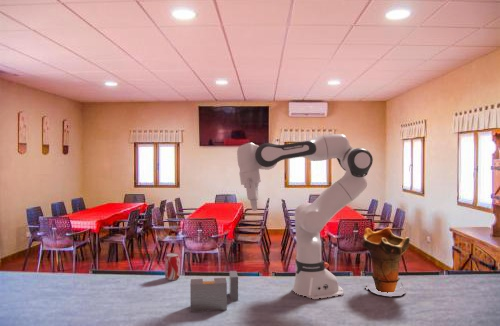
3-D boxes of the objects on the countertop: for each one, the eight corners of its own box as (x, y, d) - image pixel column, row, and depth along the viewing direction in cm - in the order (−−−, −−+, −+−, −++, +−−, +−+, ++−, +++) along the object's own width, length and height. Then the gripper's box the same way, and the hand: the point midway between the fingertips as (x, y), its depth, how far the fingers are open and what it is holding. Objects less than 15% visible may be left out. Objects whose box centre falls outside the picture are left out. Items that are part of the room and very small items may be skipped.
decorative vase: (382, 303, 152) (381, 235, 152) (352, 286, 174) (351, 226, 174) (424, 297, 158) (423, 232, 158) (389, 281, 180) (388, 224, 180)
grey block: (236, 293, 163) (236, 270, 162) (238, 300, 155) (238, 277, 155) (229, 293, 162) (229, 271, 162) (230, 300, 155) (231, 277, 154)
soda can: (176, 281, 177) (176, 257, 176) (162, 280, 178) (162, 256, 178) (182, 276, 184) (181, 253, 183) (168, 275, 185) (168, 252, 185)
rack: (225, 303, 151) (225, 276, 151) (226, 310, 145) (226, 281, 145) (190, 305, 149) (190, 277, 149) (190, 312, 143) (190, 283, 143)
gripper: (256, 175, 152) (261, 209, 150) (258, 180, 172) (262, 209, 170) (241, 178, 152) (246, 211, 150) (245, 182, 172) (249, 211, 170)
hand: (254, 210), depth 160 cm, fingers open, 8 cm apart
